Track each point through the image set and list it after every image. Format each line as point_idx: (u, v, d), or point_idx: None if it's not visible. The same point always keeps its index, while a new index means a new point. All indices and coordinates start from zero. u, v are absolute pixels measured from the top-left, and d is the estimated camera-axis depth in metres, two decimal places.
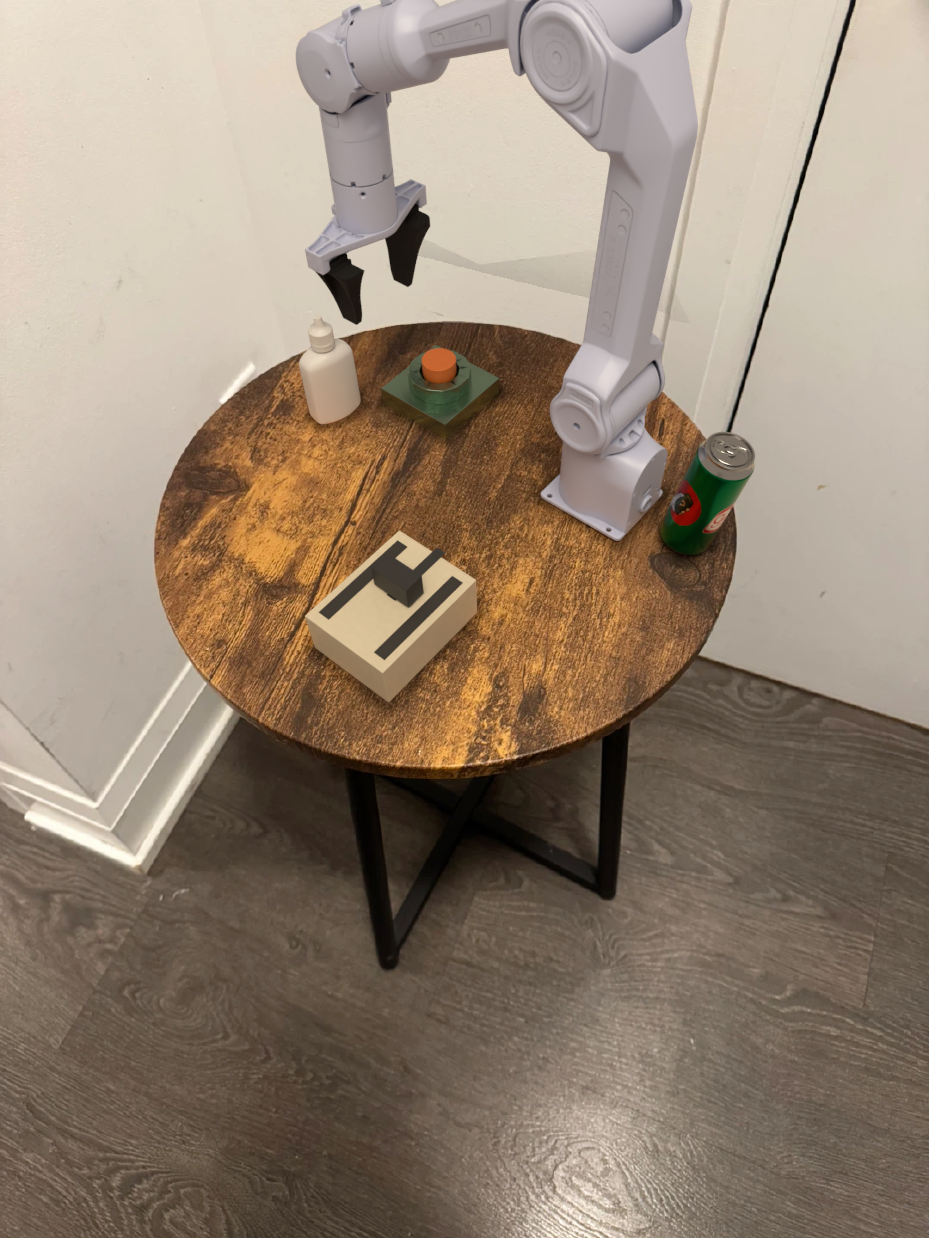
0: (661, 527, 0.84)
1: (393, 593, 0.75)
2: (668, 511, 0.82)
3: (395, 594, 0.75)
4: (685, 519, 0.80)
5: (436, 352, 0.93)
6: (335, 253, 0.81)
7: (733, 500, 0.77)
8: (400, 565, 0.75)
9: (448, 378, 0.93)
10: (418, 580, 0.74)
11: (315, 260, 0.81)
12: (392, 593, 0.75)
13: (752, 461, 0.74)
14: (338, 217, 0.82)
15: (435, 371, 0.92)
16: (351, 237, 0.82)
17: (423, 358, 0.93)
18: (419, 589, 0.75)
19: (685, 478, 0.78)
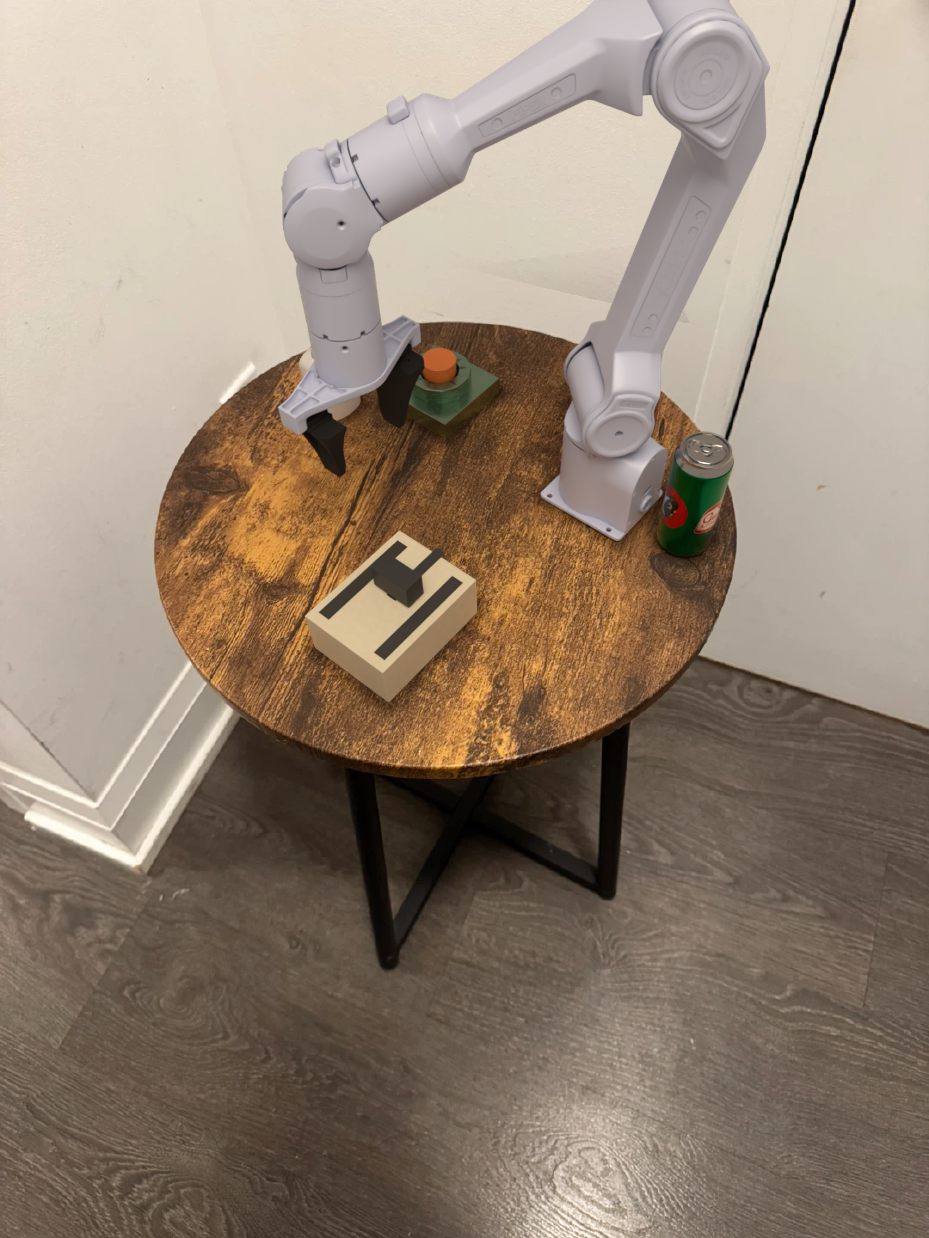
0: (657, 532, 0.84)
1: (393, 593, 0.75)
2: (660, 515, 0.83)
3: (395, 594, 0.75)
4: (674, 521, 0.80)
5: (436, 352, 0.93)
6: (313, 411, 0.70)
7: (718, 498, 0.77)
8: (400, 565, 0.75)
9: (448, 378, 0.93)
10: (418, 580, 0.74)
11: (289, 420, 0.70)
12: (392, 593, 0.75)
13: (729, 457, 0.75)
14: (317, 367, 0.71)
15: (435, 371, 0.92)
16: (332, 390, 0.71)
17: None
18: (419, 589, 0.75)
19: (668, 481, 0.79)
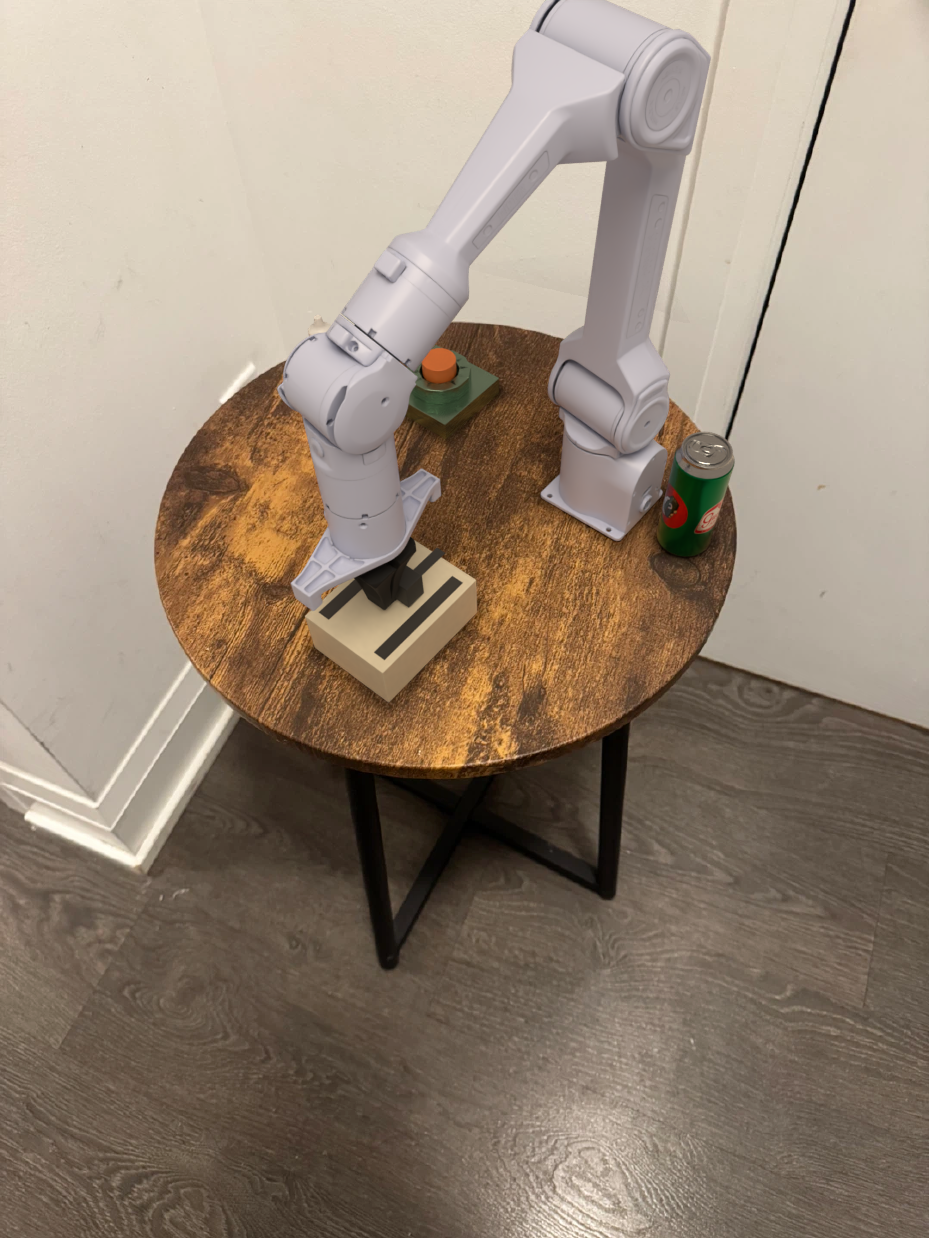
0: (657, 532, 0.84)
1: None
2: (661, 515, 0.83)
3: None
4: (675, 521, 0.80)
5: (436, 352, 0.93)
6: (328, 587, 0.65)
7: (718, 498, 0.77)
8: None
9: (448, 378, 0.93)
10: (418, 580, 0.74)
11: (303, 596, 0.65)
12: None
13: (729, 458, 0.75)
14: (332, 537, 0.66)
15: (435, 371, 0.92)
16: (348, 561, 0.66)
17: None
18: (419, 589, 0.75)
19: (669, 481, 0.79)
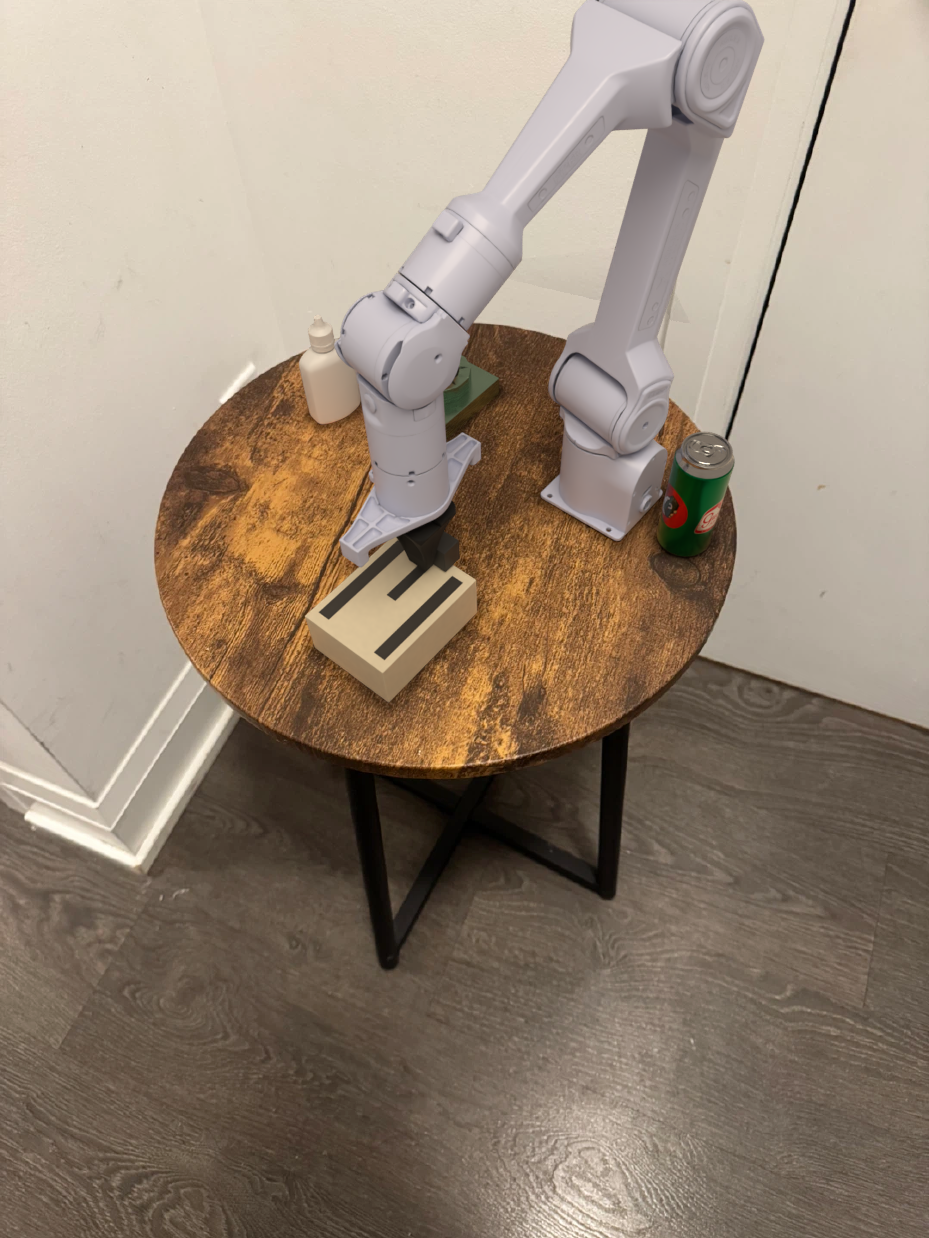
0: (657, 532, 0.84)
1: None
2: (661, 515, 0.83)
3: None
4: (675, 521, 0.80)
5: None
6: (376, 543, 0.67)
7: (718, 498, 0.77)
8: None
9: None
10: (455, 545, 0.76)
11: (351, 553, 0.67)
12: None
13: (729, 458, 0.75)
14: (379, 496, 0.68)
15: None
16: (394, 519, 0.68)
17: None
18: (456, 554, 0.77)
19: (669, 481, 0.79)
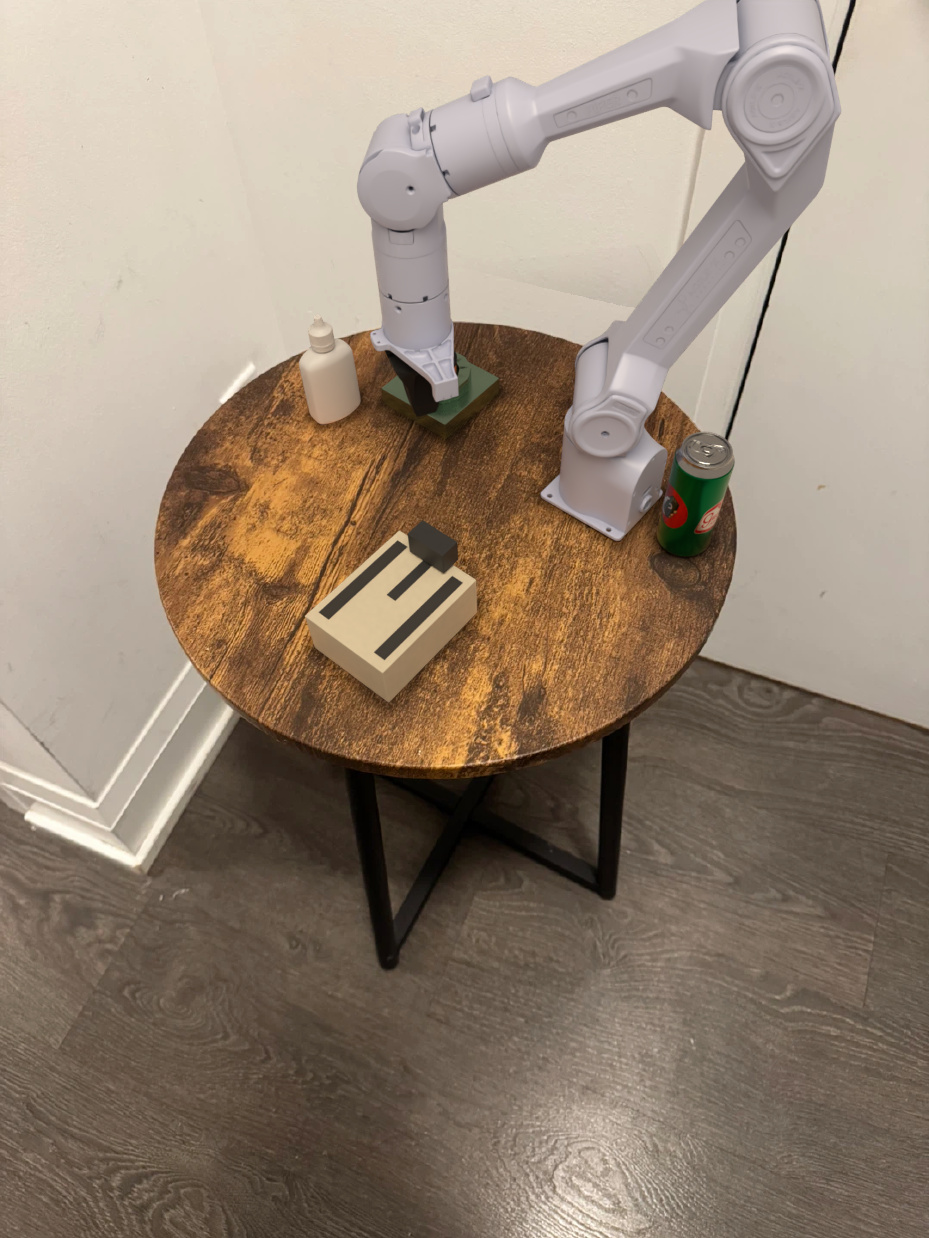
0: (657, 532, 0.84)
1: (429, 560, 0.77)
2: (661, 515, 0.83)
3: (431, 560, 0.77)
4: (675, 521, 0.80)
5: None
6: None
7: (718, 498, 0.77)
8: (435, 531, 0.77)
9: None
10: (454, 546, 0.76)
11: (450, 386, 0.72)
12: (428, 559, 0.77)
13: (729, 458, 0.75)
14: (415, 341, 0.73)
15: None
16: (438, 349, 0.74)
17: None
18: (454, 555, 0.77)
19: (669, 481, 0.79)
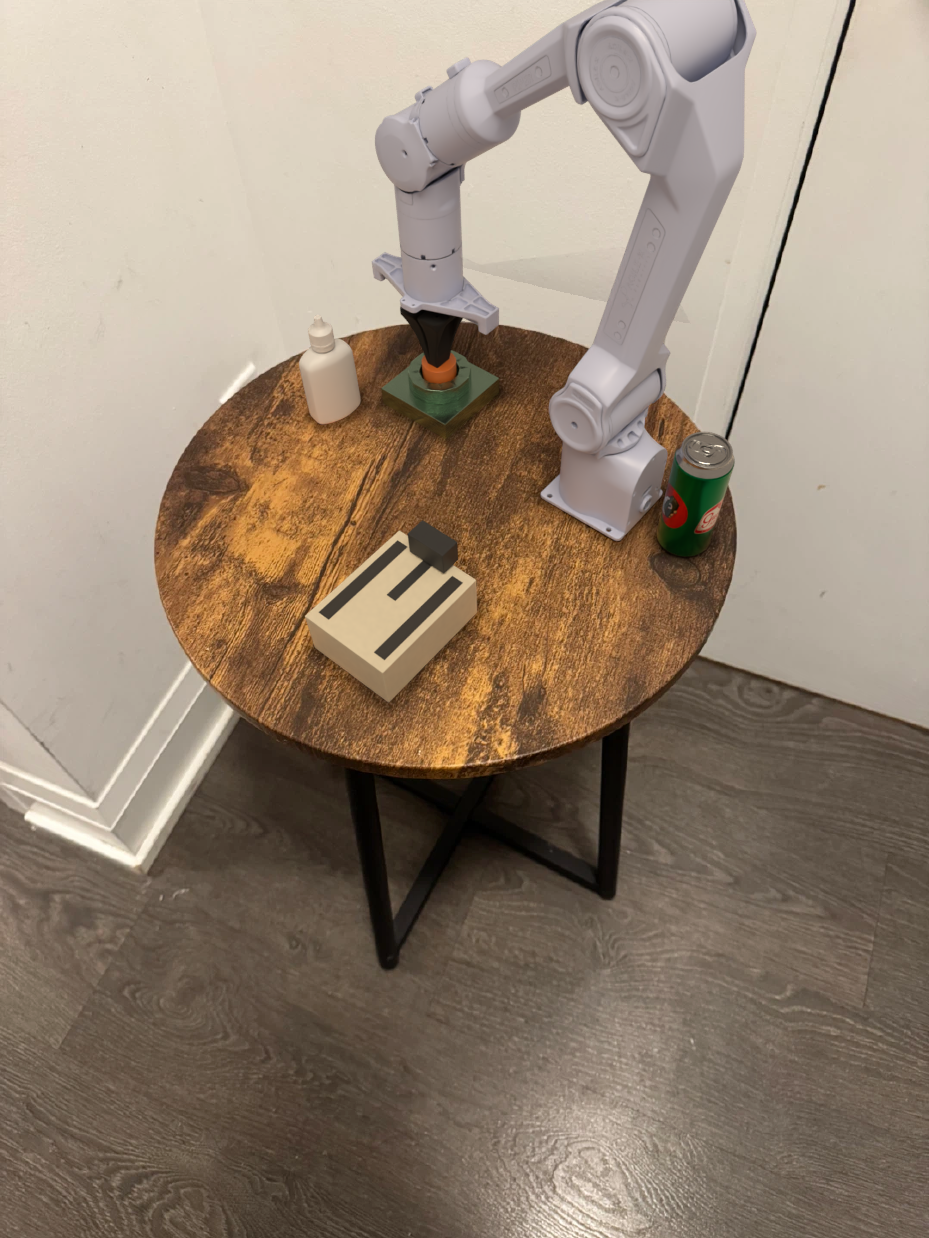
0: (657, 532, 0.84)
1: (429, 560, 0.77)
2: (661, 515, 0.83)
3: (431, 560, 0.77)
4: (675, 521, 0.80)
5: None
6: None
7: (718, 498, 0.77)
8: (435, 531, 0.77)
9: (448, 379, 0.93)
10: (454, 546, 0.76)
11: (494, 317, 0.83)
12: (428, 559, 0.77)
13: (729, 458, 0.75)
14: (447, 292, 0.83)
15: (435, 372, 0.92)
16: (463, 294, 0.85)
17: (423, 359, 0.93)
18: (454, 555, 0.77)
19: (669, 481, 0.79)
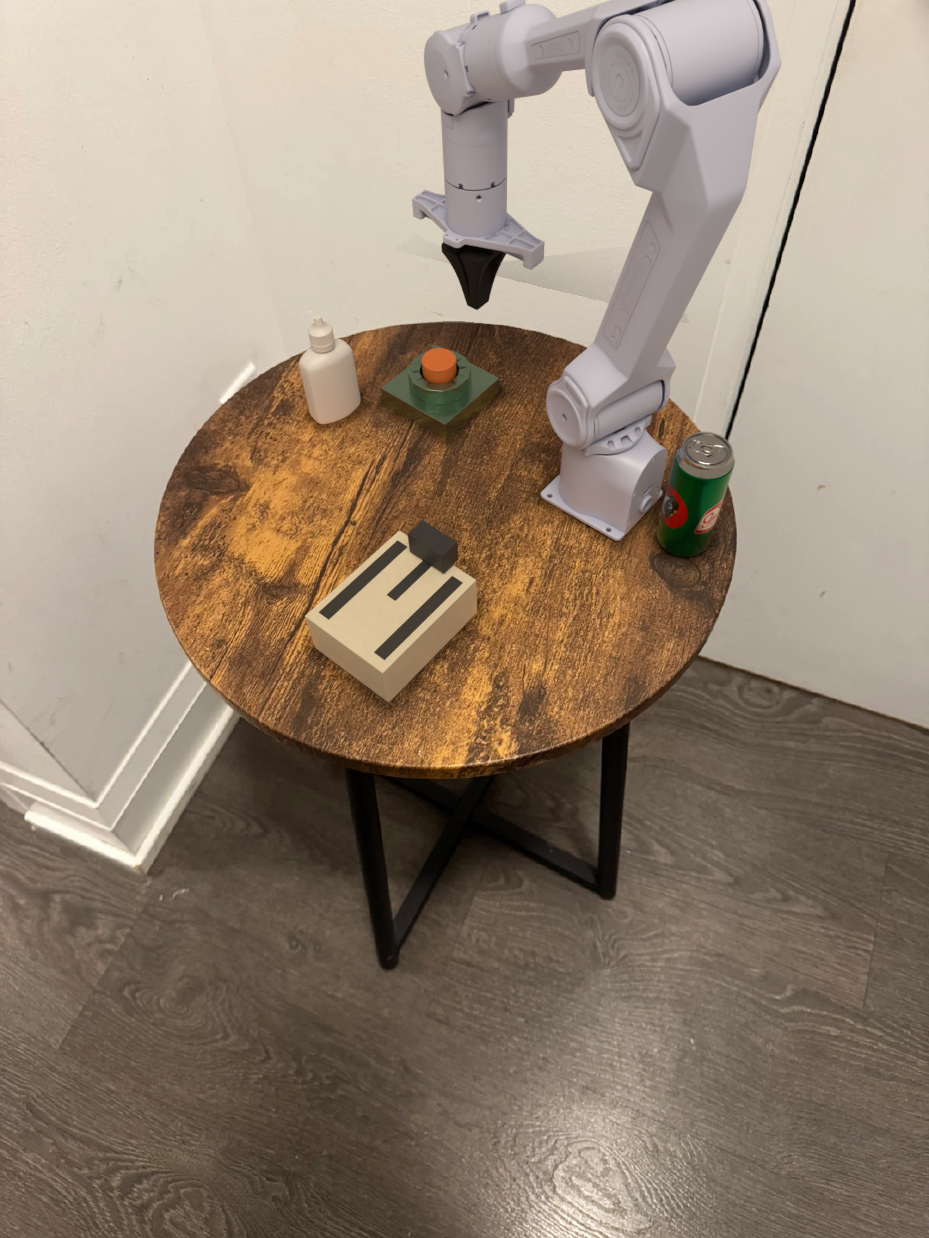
0: (657, 532, 0.84)
1: (429, 560, 0.77)
2: (661, 515, 0.83)
3: (431, 560, 0.77)
4: (675, 521, 0.80)
5: (436, 351, 0.93)
6: None
7: (718, 498, 0.77)
8: (435, 531, 0.77)
9: (448, 378, 0.93)
10: (454, 546, 0.76)
11: (540, 251, 0.82)
12: (428, 559, 0.77)
13: (729, 458, 0.75)
14: (491, 225, 0.82)
15: (435, 371, 0.92)
16: (506, 229, 0.83)
17: (423, 358, 0.93)
18: (454, 555, 0.77)
19: (669, 481, 0.79)
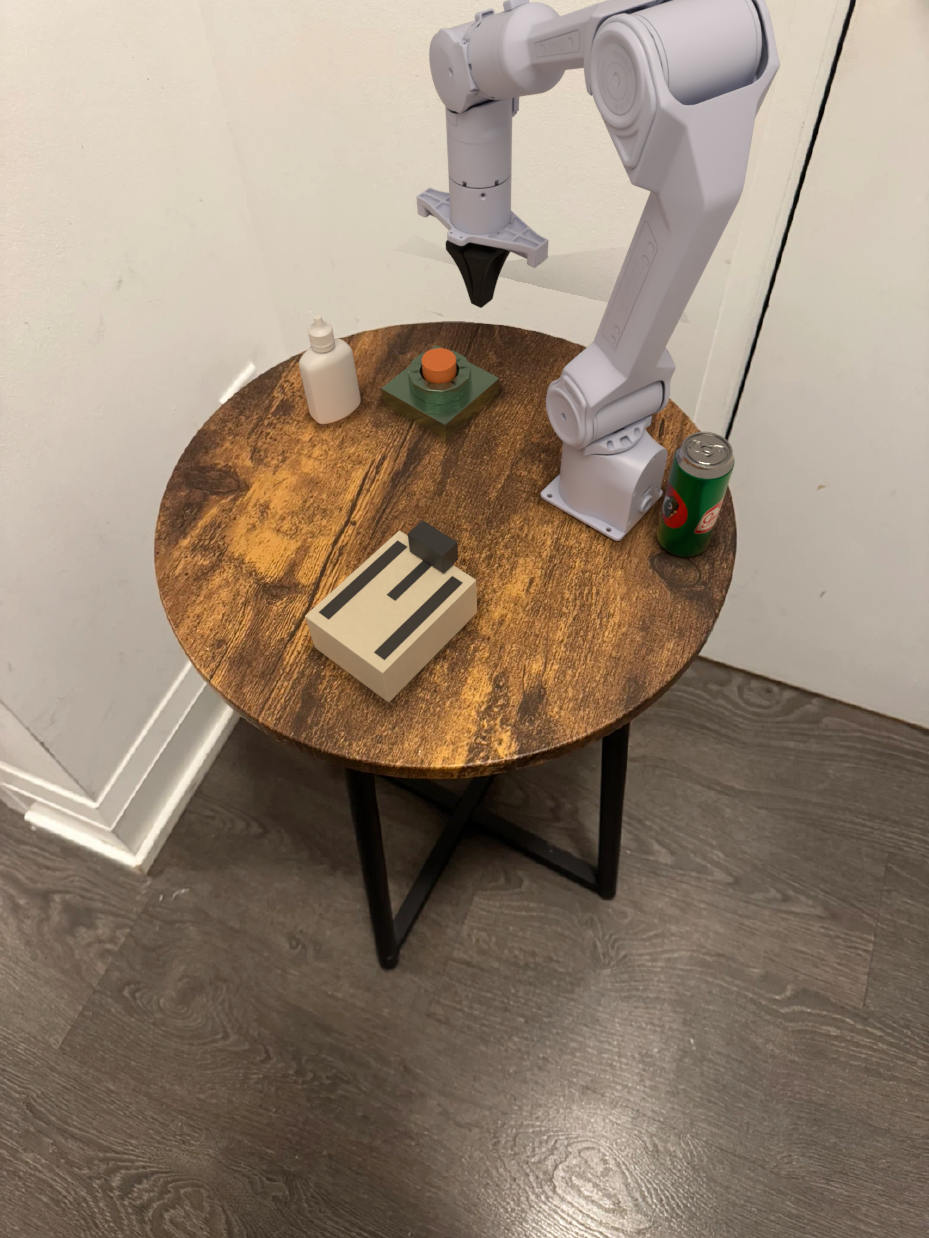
0: (657, 532, 0.84)
1: (429, 560, 0.77)
2: (661, 515, 0.83)
3: (431, 560, 0.77)
4: (675, 521, 0.80)
5: (436, 351, 0.93)
6: None
7: (718, 498, 0.77)
8: (435, 531, 0.77)
9: (448, 378, 0.93)
10: (454, 546, 0.76)
11: (543, 249, 0.82)
12: (428, 559, 0.77)
13: (729, 458, 0.75)
14: (496, 223, 0.82)
15: (435, 371, 0.92)
16: (511, 227, 0.83)
17: (423, 358, 0.93)
18: (454, 555, 0.77)
19: (669, 481, 0.79)
